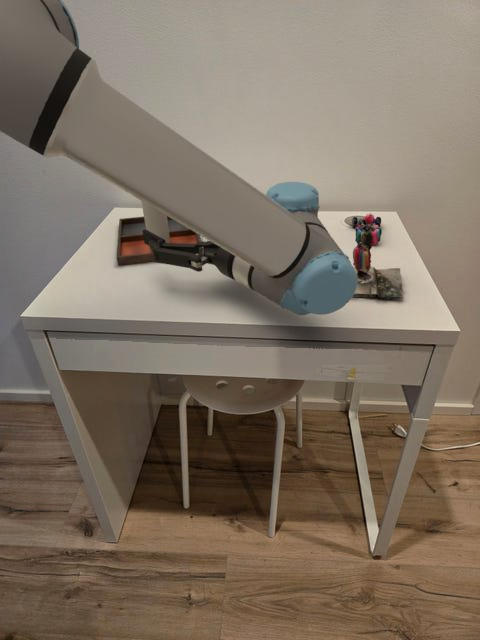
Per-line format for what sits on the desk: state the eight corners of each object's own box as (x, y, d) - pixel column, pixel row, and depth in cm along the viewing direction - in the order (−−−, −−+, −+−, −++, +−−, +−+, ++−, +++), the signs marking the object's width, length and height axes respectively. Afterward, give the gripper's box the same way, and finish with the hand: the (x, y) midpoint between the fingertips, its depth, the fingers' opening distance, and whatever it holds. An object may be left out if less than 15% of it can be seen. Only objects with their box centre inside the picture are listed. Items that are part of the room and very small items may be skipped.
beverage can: (173, 243, 98) (167, 191, 91) (167, 253, 94) (159, 200, 87) (153, 242, 99) (145, 190, 92) (146, 252, 95) (137, 199, 88)
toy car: (350, 223, 106) (352, 208, 103) (377, 223, 105) (380, 208, 103) (359, 246, 96) (361, 230, 94) (388, 246, 96) (391, 230, 94)
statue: (340, 301, 82) (339, 227, 73) (342, 274, 89) (342, 204, 80) (402, 301, 79) (409, 225, 70) (399, 274, 86) (405, 201, 77)
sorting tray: (118, 265, 92) (116, 257, 91) (120, 225, 108) (119, 218, 106) (203, 256, 94) (202, 248, 93) (193, 218, 110) (192, 211, 109)
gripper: (191, 309, 71) (123, 263, 84) (292, 256, 85) (220, 223, 97) (186, 269, 67) (115, 227, 79) (294, 220, 80) (219, 190, 93)
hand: (173, 225), depth 88 cm, fingers open, 13 cm apart
